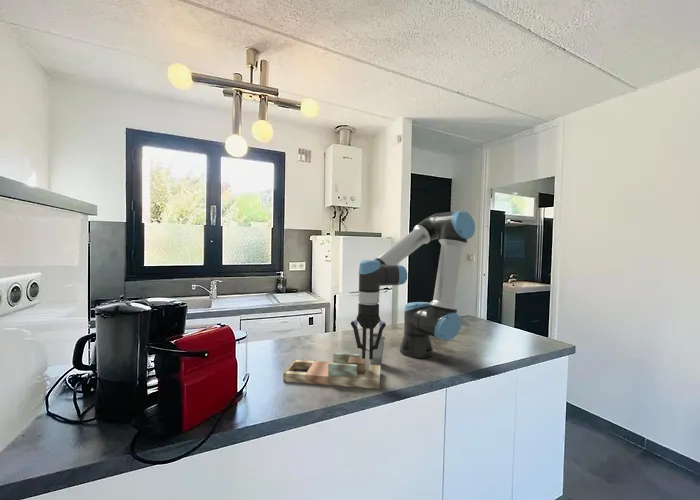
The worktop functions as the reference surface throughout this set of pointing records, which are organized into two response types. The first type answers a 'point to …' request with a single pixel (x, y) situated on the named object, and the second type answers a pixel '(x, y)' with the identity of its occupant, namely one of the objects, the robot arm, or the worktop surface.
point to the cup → (377, 350)
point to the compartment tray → (333, 372)
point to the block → (358, 364)
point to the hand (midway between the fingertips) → (367, 367)
